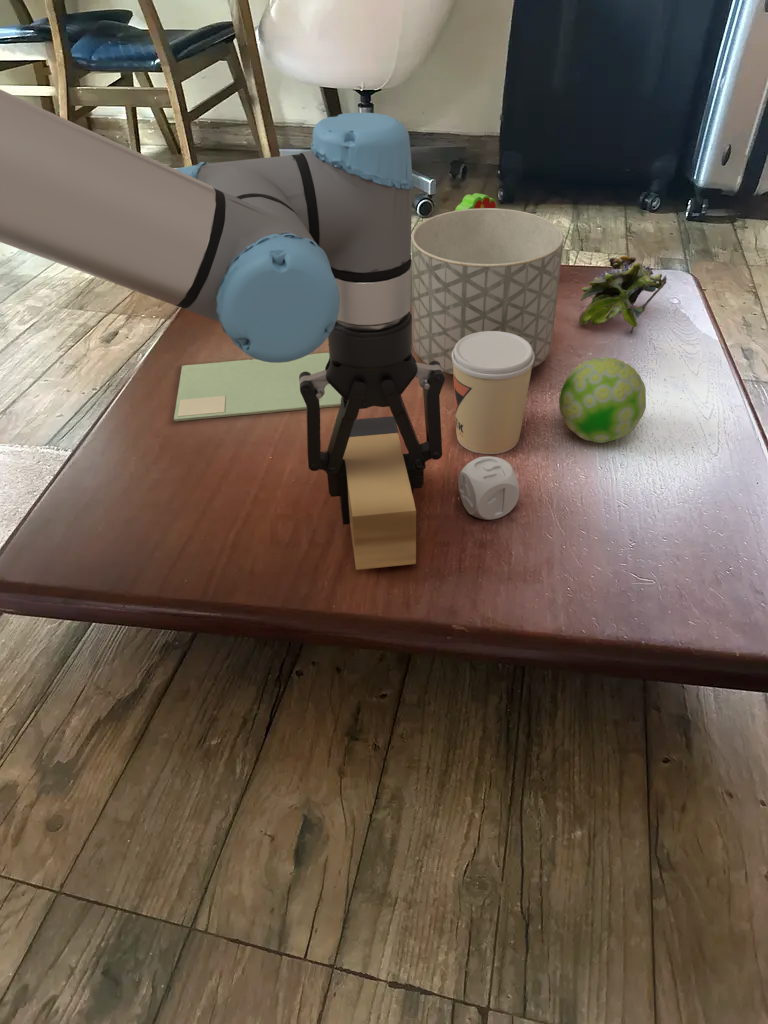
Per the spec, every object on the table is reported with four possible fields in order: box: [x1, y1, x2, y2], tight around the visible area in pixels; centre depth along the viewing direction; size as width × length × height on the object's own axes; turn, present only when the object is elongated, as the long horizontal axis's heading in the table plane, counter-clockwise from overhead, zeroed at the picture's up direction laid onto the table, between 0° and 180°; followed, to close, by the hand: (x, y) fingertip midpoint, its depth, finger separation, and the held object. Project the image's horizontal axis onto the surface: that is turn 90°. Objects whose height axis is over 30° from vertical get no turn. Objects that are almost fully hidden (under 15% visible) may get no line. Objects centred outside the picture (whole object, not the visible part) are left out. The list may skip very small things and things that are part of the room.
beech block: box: [343, 415, 417, 571], centre depth 81 cm, size 16×6×7 cm, turn 7°
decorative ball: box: [558, 356, 647, 444], centre depth 92 cm, size 10×10×10 cm
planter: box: [411, 207, 565, 375], centre depth 104 cm, size 19×19×18 cm
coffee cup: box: [452, 331, 534, 455], centre depth 92 cm, size 9×9×12 cm
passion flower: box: [579, 255, 668, 335], centre depth 115 cm, size 11×11×12 cm
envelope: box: [173, 352, 342, 423], centre depth 107 cm, size 24×14×1 cm, turn 97°
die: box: [457, 455, 520, 521], centre depth 84 cm, size 5×5×5 cm
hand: (376, 512), depth 83 cm, fingers closed on beech block, 6 cm apart
